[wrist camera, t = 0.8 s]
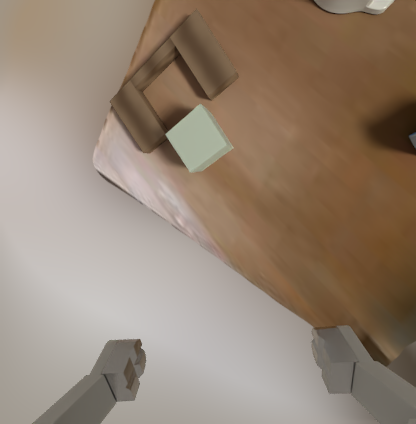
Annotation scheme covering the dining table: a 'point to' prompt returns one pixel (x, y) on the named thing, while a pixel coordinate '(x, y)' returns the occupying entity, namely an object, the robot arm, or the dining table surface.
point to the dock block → (176, 44)
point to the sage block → (199, 139)
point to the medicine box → (413, 139)
